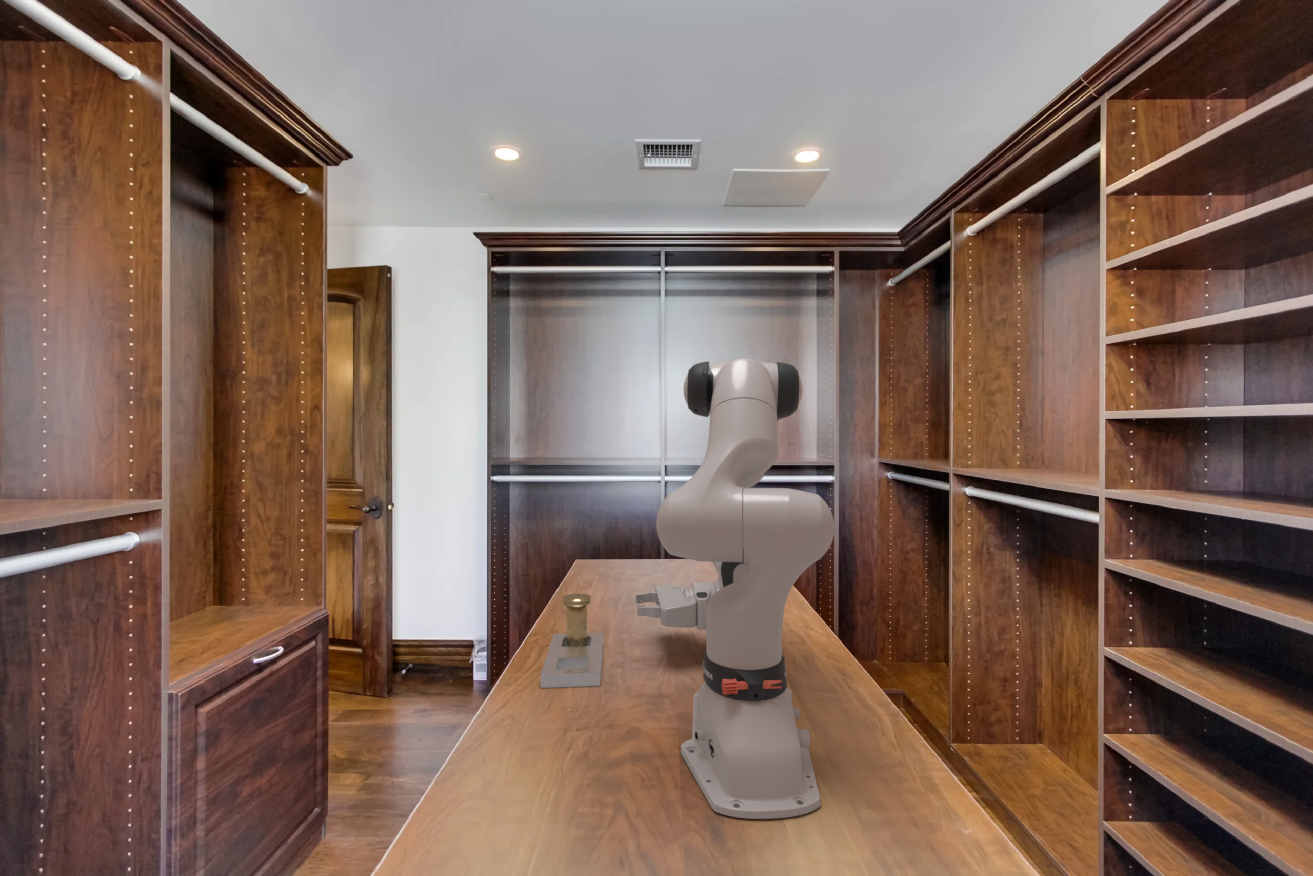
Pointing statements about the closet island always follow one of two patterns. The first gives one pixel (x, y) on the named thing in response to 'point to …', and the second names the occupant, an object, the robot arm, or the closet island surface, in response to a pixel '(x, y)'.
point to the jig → (573, 663)
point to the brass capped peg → (576, 618)
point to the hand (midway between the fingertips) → (636, 604)
